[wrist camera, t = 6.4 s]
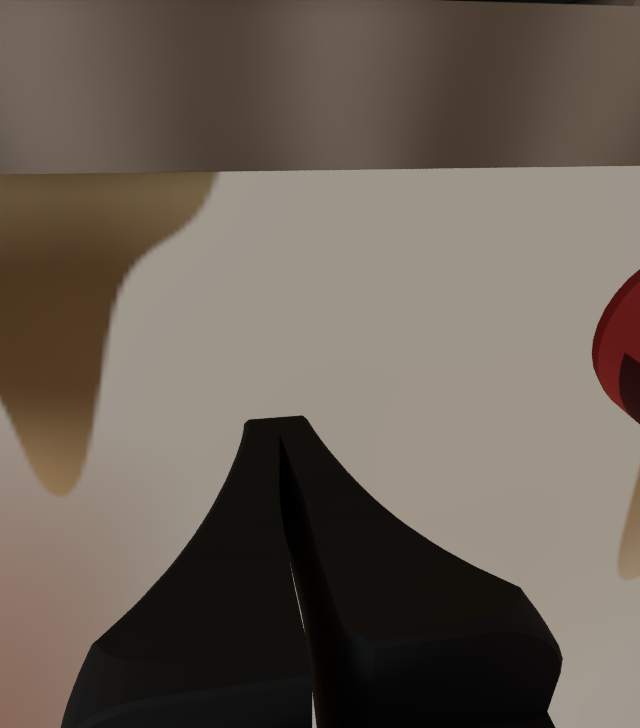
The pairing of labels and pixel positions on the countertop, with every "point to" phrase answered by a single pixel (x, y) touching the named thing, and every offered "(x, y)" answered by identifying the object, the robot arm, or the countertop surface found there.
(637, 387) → the canned food
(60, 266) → the countertop surface
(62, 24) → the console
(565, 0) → the key green
